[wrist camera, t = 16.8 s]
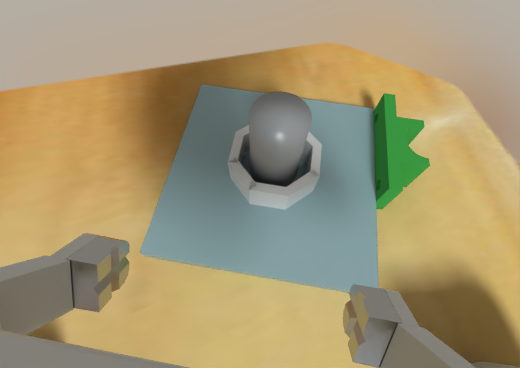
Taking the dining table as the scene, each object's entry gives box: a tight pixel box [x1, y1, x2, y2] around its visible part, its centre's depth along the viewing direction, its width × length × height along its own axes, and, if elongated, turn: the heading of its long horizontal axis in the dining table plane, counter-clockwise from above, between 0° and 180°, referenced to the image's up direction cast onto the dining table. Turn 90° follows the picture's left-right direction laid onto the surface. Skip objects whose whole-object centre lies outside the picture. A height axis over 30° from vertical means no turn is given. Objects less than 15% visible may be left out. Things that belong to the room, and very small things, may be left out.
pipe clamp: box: [373, 94, 430, 209], centre depth 28 cm, size 11×4×5 cm, turn 171°
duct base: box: [140, 84, 379, 293], centre depth 26 cm, size 20×20×4 cm
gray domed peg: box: [249, 92, 312, 187], centre depth 23 cm, size 5×5×8 cm
